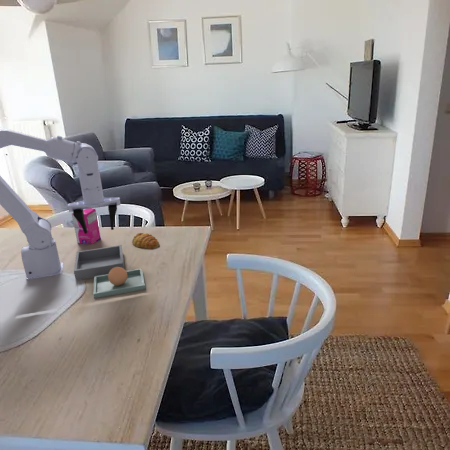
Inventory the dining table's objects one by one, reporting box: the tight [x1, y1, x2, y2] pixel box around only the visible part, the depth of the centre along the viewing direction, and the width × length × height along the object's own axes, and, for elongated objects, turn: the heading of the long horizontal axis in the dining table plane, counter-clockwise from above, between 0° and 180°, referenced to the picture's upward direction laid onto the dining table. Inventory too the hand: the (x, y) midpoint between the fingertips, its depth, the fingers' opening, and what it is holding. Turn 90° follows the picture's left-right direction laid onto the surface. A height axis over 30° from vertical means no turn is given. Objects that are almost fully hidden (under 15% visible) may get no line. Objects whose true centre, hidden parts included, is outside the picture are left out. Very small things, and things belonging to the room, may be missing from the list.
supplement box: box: [71, 208, 102, 245], centre depth 139 cm, size 6×6×12 cm
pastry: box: [131, 232, 160, 250], centre depth 135 cm, size 9×7×4 cm
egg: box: [108, 267, 127, 286], centre depth 110 cm, size 5×5×5 cm
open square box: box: [73, 244, 125, 281], centre depth 122 cm, size 13×13×4 cm
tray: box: [92, 268, 146, 299], centre depth 111 cm, size 13×10×2 cm
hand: (99, 230), depth 123 cm, fingers open, 7 cm apart
